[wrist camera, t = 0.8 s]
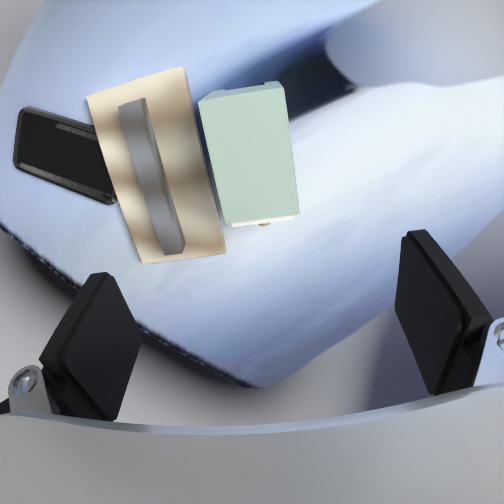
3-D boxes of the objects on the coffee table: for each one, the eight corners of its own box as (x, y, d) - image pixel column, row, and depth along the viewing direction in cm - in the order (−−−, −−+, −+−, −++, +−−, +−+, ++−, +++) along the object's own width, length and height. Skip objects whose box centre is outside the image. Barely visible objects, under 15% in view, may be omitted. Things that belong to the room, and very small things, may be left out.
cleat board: (90, 95, 27) (76, 100, 24) (184, 66, 25) (176, 67, 23) (145, 259, 38) (137, 274, 35) (226, 248, 36) (224, 264, 34)
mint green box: (211, 91, 27) (197, 101, 21) (277, 80, 26) (283, 87, 20) (234, 200, 33) (228, 238, 27) (293, 192, 33) (301, 229, 26)
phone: (115, 207, 33) (12, 167, 30) (118, 203, 34) (17, 163, 31) (132, 141, 29) (19, 104, 26) (136, 138, 30) (25, 102, 26)
